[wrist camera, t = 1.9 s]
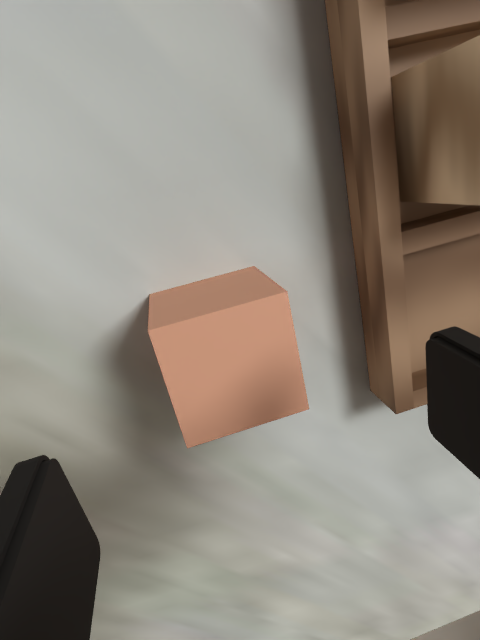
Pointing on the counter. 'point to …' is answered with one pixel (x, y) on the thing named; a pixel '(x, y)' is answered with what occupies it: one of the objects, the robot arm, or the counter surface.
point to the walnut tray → (383, 231)
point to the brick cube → (227, 353)
